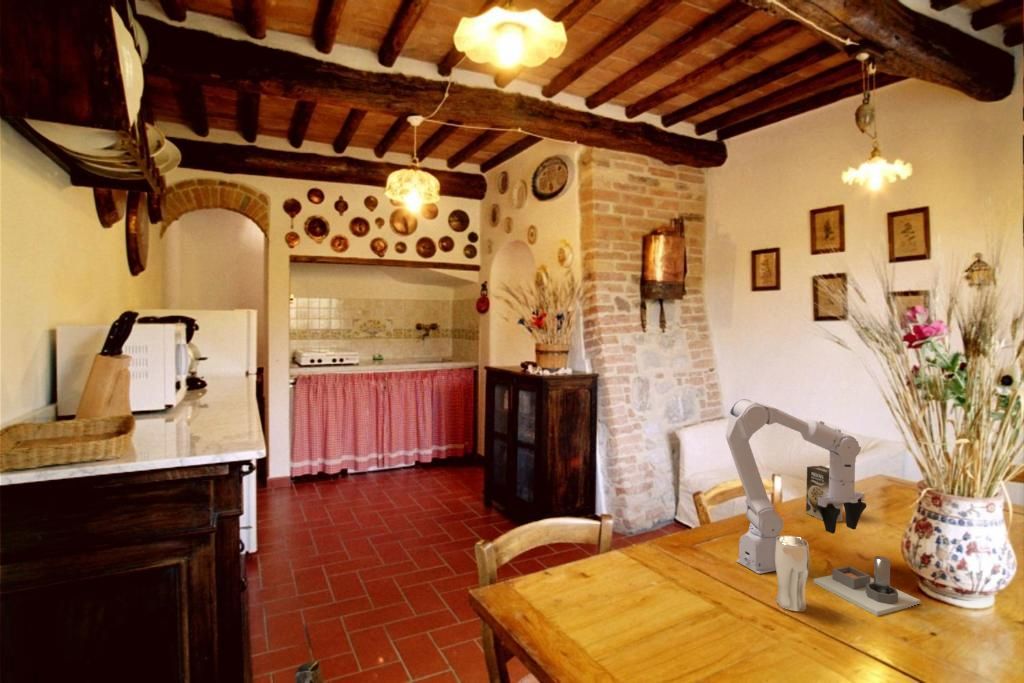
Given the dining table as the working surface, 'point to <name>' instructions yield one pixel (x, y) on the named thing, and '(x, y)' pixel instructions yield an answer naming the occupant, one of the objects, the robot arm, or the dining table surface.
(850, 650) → the dining table surface
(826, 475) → the coffee box
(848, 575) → the button
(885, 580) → the metal cylinder
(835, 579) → the panel
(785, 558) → the beer glass
